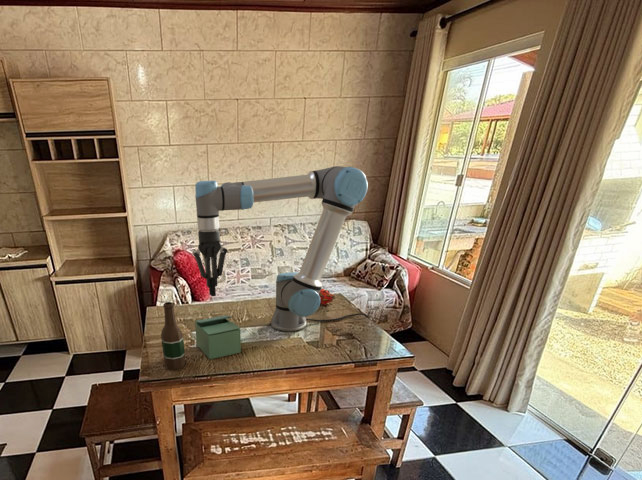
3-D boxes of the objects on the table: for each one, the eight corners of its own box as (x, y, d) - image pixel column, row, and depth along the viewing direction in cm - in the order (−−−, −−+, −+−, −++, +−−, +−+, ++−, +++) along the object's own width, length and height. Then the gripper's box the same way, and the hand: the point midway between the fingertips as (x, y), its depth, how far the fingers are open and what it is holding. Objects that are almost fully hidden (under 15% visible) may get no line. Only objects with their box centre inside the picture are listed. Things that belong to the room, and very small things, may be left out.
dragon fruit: (308, 305, 206) (332, 310, 203) (307, 300, 198) (332, 305, 194) (313, 289, 206) (337, 294, 203) (312, 283, 198) (337, 289, 195)
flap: (194, 321, 161) (194, 320, 161) (224, 316, 165) (224, 315, 165) (200, 323, 154) (200, 322, 154) (231, 317, 158) (231, 316, 158)
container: (196, 344, 166) (194, 320, 161) (225, 338, 170) (224, 315, 165) (209, 359, 154) (208, 334, 149) (240, 352, 158) (240, 327, 153)
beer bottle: (190, 364, 151) (184, 302, 139) (174, 372, 146) (166, 308, 134) (176, 358, 155) (169, 298, 144) (160, 365, 150) (152, 303, 139)
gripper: (222, 226, 147) (224, 289, 158) (187, 230, 143) (193, 295, 154) (230, 229, 141) (232, 295, 152) (194, 233, 137) (199, 300, 148)
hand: (212, 295), depth 153 cm, fingers closed
